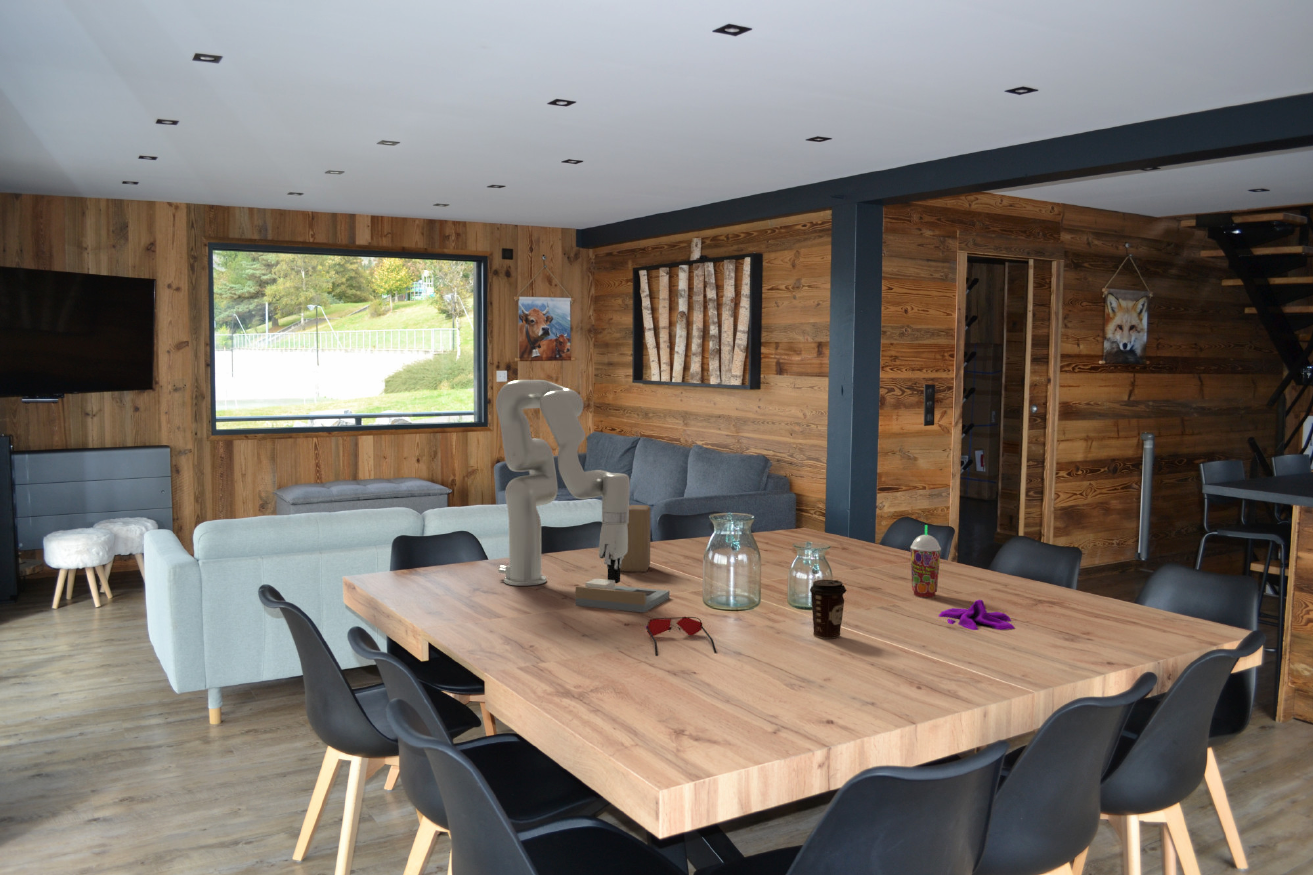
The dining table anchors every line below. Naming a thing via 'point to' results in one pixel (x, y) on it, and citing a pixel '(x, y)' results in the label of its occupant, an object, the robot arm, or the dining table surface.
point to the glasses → (685, 623)
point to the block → (637, 540)
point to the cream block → (601, 584)
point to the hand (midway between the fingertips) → (613, 582)
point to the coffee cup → (827, 608)
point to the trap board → (620, 598)
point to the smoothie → (925, 565)
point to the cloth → (978, 617)
